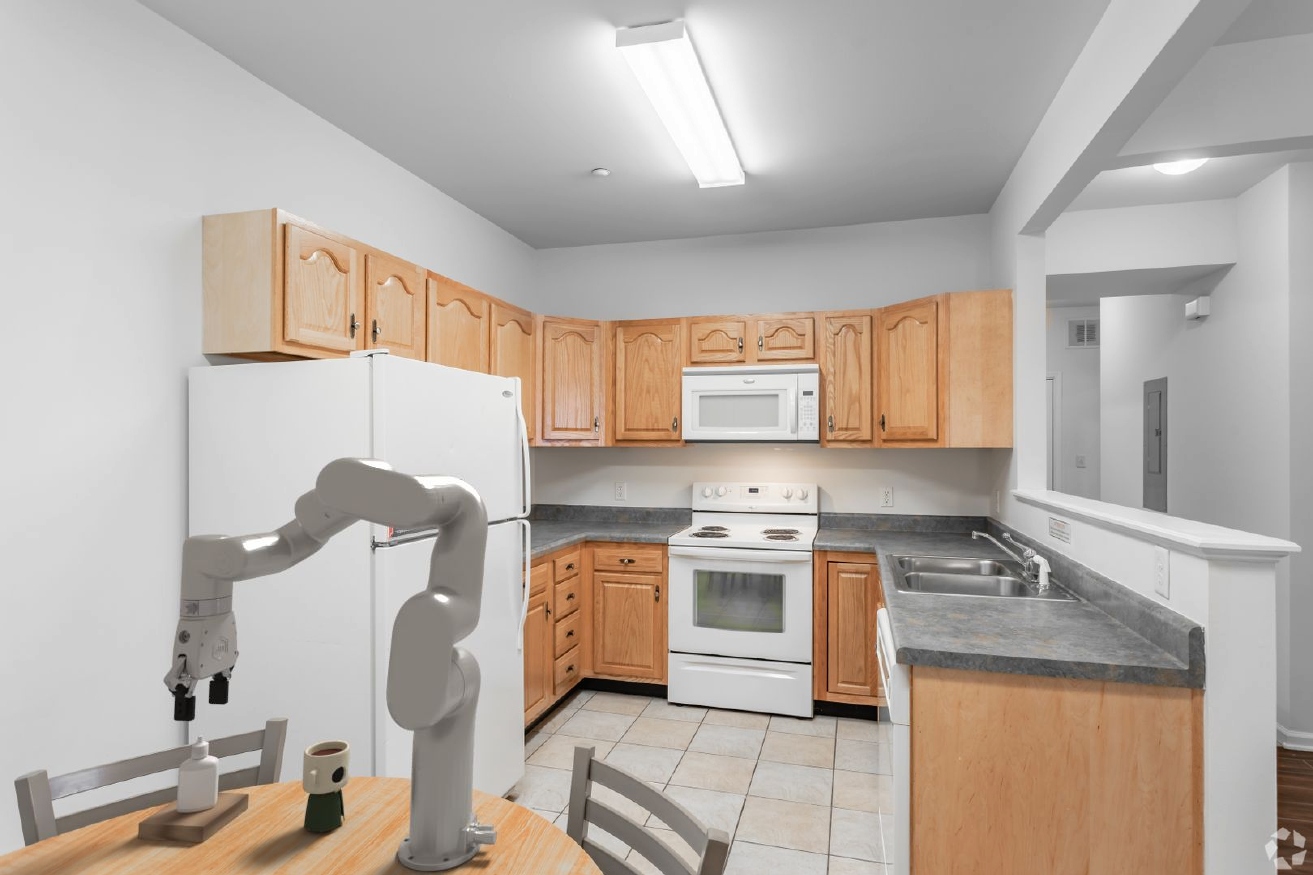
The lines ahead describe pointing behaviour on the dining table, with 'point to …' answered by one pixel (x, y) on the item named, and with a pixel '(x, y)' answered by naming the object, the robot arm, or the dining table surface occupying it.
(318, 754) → the character mug
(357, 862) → the dining table surface
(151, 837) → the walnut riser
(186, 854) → the dining table surface
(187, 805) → the eye dropper bottle
